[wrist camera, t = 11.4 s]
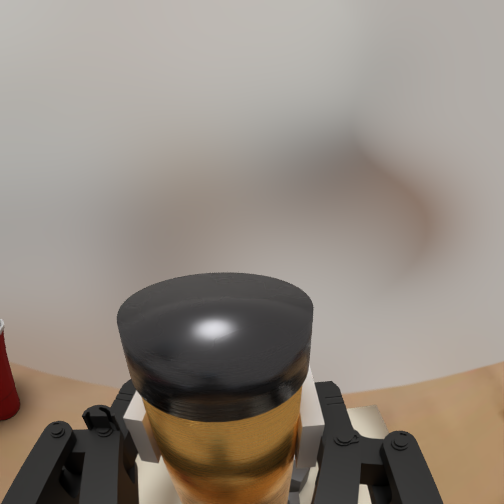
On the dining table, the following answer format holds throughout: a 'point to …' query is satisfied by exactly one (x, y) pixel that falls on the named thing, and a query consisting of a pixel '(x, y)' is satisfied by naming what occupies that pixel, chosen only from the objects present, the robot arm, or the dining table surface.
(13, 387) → the plastic cup
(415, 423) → the dining table surface
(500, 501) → the dining table surface
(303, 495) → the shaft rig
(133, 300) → the orange translucent cylinder
